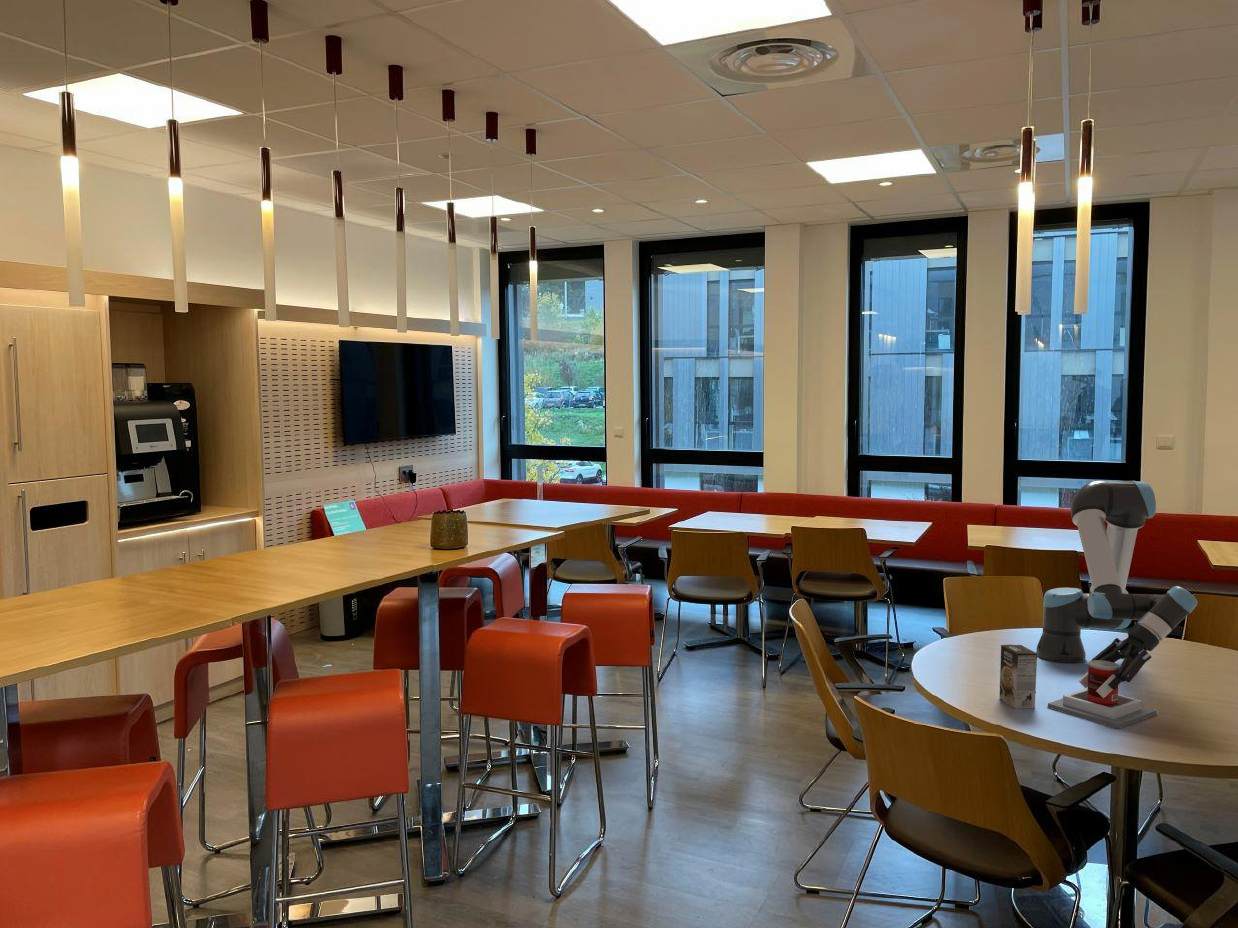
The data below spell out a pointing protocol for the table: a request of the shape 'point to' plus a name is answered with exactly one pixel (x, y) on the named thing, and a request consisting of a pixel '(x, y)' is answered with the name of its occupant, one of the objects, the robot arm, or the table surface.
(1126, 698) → the end holder
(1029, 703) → the coffee box
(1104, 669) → the canned food
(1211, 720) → the table surface
